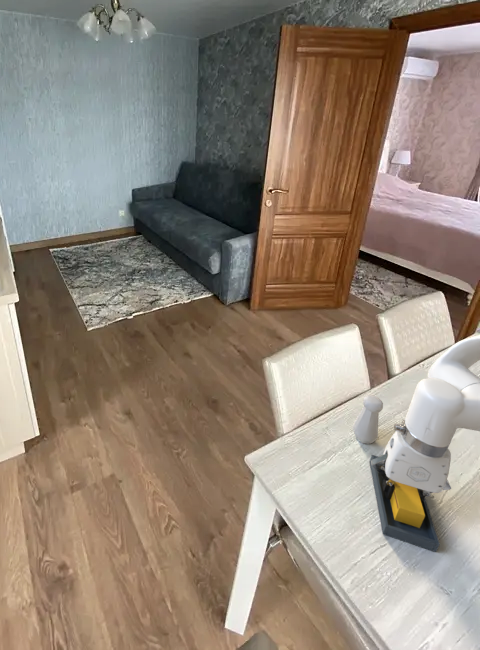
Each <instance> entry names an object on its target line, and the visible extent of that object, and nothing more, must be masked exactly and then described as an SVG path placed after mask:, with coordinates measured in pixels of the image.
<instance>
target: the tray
mask: <svg viewBox="0 0 480 650" xmlns="http://www.w3.org/2000/svg"><path fill="white" fill-rule="evenodd" d="M377 457H379V456H378V455H374V454H371V456H370V459H369V467H370V473H371V478H372V479H371V480H372V483H373V489H374V495H375V500H376V507H377V511H378V516H379V521H380V522H379V523H380V527H381V533H382V535H384V536H386V537H390V538H393V539H396V540H397V541H398V540H399V541H401V542H405V543H408V544H410V545H413V546H416V547H419V548H422V549H425V550H428V551H431V552H433V553H437V551H438V549H439V547H440V545H441V544H440V541H439V538H438V534H437V532H436V529H435V528H436V527H435V525H434V522H433V518H432V516H431V513H430V510H429V506H428V503H427V500H426V498H425V499H424V501H423V503H422V507H423V510H424V513H425V517H424V520H423V522H422V524H421V526H420V528H418V527H415V526H411V525H408V524H405V523H402V522H399V521H396V520H394V515H393V511H392V506H391V502H390V500H389V499H387V497H386V493H385V491H383V488H382V484H383V481H384V478H383V477H382V476H381V475H380V473H379V472H377V471H376V470H375V469H374V468H373V467H372V464H371V460H373V459H375V458H377ZM384 467H385V466H384Z"/></svg>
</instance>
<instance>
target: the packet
mask: <svg viewBox="0 0 480 650" xmlns="http://www.w3.org/2000/svg"><path fill="white" fill-rule="evenodd" d="M394 486H395V489H394V492H393V494H392V497H391V499H390V502H391V506H392V511H393V515H394V520H396V521H399V522H402V523H405V524H408V525H411V526H415V527H418V528H420V526H421V524H422V522H423V520H424V517H425V513H424V510H423V507H422V503H421V500H420V496H419V493H418V490H417V488H415V487H412V486H408V485H405V484H402V483H399V482H395V483H394Z"/></svg>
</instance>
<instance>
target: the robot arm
mask: <svg viewBox="0 0 480 650" xmlns="http://www.w3.org/2000/svg"><path fill="white" fill-rule="evenodd" d="M479 361H480V334H477V335H473V336H471V337H466V338H464V339H462V340H459V341H457V342H456V343H454V344H453V345H451V346H450V347H449V348H448V349H447V350H446V351H444V352H443V353H442V354H441V355H440V356H439V357H438V358H437V359H435V361H434V362H433V363H432V364H431V366H430V367H429V369H428V370H427V377H425V378H422V379H421V380H419V381H418V383H416V387H415V389H414V391H413V395H412V397H411V401H410V403H409V405H408V409H407V412H406V415H405V417H404V419H402V422H401V423H399V424H398V423H394V424H393V430H394V431H395V432H393V434H392V435H391V437H390V439H389V441H388V442H387V444H386V446H385V448H384V451H383V454H382V455H380V456H378V457H377V458H375V459H373V460H371V464H372V467H373V468H374V469H375V470H376V471H377V472H379V473H380V475H381V476H382V477H383V478H384V481H383V484H382V488H383V491H385V493H386V497H387V499H389V500H390V499H391V497H392V494H393V492H394V489H395V486H394V483H395V482H399V483H402V484H405V485H408V486H412V487H415V488H417V490H418V493H419V496H420V500H421V503H423V501H424V499H426V497H427V498H428V497H430V496H431V494H440V493H442V492H443V491H450V490H452V486H451V484H450V482H449V480H448V477H449V473H450V467H451V459H452V452H451V450H450V449H449V447H450V445H451V443H452V440H453V438H454V436H455V433H456V431H457V430H458V429H463V430H464V429H465V430H470V431H477V432H480V377H479V376H478V375H477V374H475V373H474V372H473V371H472V370H470V367H472V366H473V365H474V364H476V363H477V362H479ZM384 466H385V467H384Z"/></svg>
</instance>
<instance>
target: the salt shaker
mask: <svg viewBox="0 0 480 650" xmlns="http://www.w3.org/2000/svg"><path fill="white" fill-rule="evenodd" d="M362 399H363V400H362V404H363V406H362V408H361V410H360V411H359V414H358V415H357V417H356V419H355V420H354V422H353V424H352V431H353V433H354V436H355V439H356V440H357V441H359V442H360V443H361V444H363V445H371V444H373V443H374V442H376V441H377V439H378V438H379V417H380V416H379V413H381V412H382V411H383V408H384V403H383V401H382V399H381V398H380V397H378V396H376V395H374V394H367V395H365V396H364V397H363V398H362Z"/></svg>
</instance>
